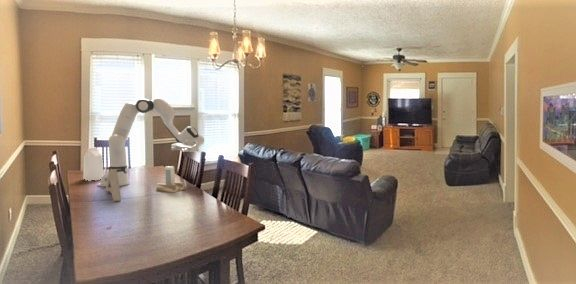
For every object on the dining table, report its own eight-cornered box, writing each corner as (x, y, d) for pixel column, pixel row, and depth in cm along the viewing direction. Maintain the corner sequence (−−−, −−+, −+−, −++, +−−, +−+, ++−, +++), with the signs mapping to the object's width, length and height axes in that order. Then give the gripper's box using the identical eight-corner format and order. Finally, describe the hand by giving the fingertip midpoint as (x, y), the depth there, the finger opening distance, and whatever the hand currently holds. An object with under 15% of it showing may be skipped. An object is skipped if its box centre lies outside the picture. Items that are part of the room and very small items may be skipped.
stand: (166, 187, 297) (166, 181, 296) (184, 188, 290) (184, 182, 290) (156, 190, 287) (156, 183, 286) (174, 192, 280) (174, 185, 280)
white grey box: (168, 186, 291) (168, 166, 290) (174, 187, 289) (174, 166, 287) (165, 187, 288) (164, 166, 286) (171, 188, 286) (170, 167, 284)
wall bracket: (116, 217, 277) (121, 199, 254) (109, 218, 275) (113, 200, 252) (112, 187, 286) (116, 168, 263) (105, 188, 284) (109, 169, 261)
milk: (98, 177, 336) (97, 146, 333) (104, 179, 328) (102, 147, 325) (83, 179, 327) (81, 147, 324) (88, 181, 319) (87, 148, 316)
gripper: (177, 139, 314) (165, 144, 301) (199, 142, 305) (187, 147, 293) (178, 147, 315) (166, 152, 303) (199, 150, 307) (188, 156, 295)
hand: (177, 150), depth 298 cm, fingers open, 8 cm apart
